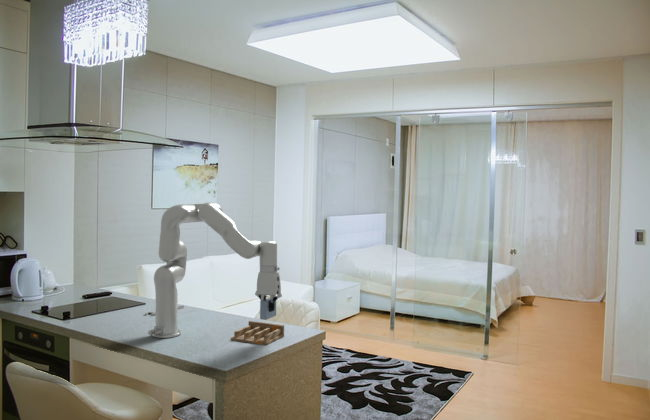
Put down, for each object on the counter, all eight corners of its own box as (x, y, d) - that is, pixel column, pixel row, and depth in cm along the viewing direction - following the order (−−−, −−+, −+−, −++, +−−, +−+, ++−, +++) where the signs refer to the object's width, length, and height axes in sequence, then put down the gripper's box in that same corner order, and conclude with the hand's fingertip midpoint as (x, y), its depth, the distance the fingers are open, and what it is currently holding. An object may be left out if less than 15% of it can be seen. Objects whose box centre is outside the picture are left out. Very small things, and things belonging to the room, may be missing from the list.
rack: (266, 345, 217) (266, 333, 217) (230, 340, 224) (230, 328, 224) (284, 336, 232) (284, 325, 232) (249, 331, 239) (249, 320, 239)
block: (266, 319, 221) (266, 301, 221) (260, 319, 223) (260, 300, 222) (276, 315, 230) (276, 297, 230) (270, 314, 231) (270, 297, 231)
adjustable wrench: (182, 308, 290) (182, 305, 290) (189, 309, 286) (189, 306, 286) (143, 315, 270) (143, 312, 270) (150, 317, 266) (150, 314, 266)
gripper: (288, 269, 226) (288, 310, 226) (256, 267, 232) (256, 307, 233) (280, 271, 219) (280, 314, 219) (248, 269, 225) (247, 310, 226)
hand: (268, 310), depth 226 cm, fingers closed on block, 2 cm apart
